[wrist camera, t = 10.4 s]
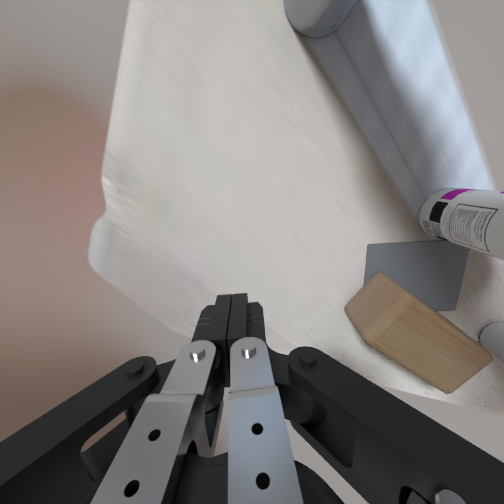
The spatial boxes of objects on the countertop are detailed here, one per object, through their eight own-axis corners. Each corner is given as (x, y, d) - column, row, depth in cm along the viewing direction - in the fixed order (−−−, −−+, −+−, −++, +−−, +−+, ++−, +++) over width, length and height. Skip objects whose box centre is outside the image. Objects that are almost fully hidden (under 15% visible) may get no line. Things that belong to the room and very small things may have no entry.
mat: (367, 244, 44) (368, 244, 43) (469, 239, 44) (471, 239, 43) (360, 313, 48) (361, 314, 48) (453, 309, 48) (455, 310, 48)
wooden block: (377, 267, 44) (450, 321, 48) (340, 307, 47) (412, 355, 51) (412, 295, 35) (499, 359, 39) (363, 343, 38) (449, 398, 42)
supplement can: (443, 177, 40) (550, 179, 26) (475, 208, 42) (591, 225, 28) (406, 216, 42) (486, 238, 28) (437, 244, 44) (529, 279, 30)
